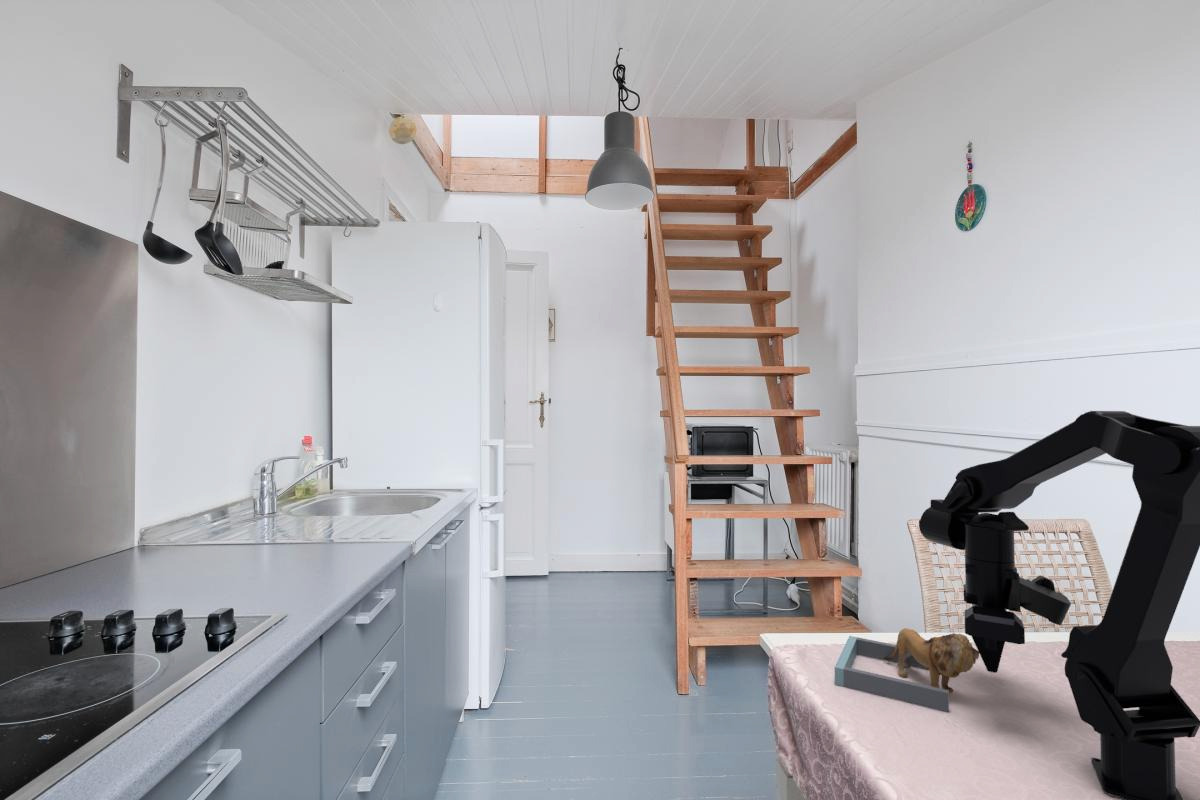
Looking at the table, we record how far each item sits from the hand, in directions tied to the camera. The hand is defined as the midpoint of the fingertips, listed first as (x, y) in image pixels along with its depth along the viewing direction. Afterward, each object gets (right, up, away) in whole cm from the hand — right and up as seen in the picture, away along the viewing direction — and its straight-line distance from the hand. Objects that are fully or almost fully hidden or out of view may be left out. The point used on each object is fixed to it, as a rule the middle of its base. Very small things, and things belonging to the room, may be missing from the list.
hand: (992, 671), depth 77 cm
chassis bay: (-10, -4, +6) cm, 13 cm away
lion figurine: (-6, -4, +5) cm, 9 cm away
